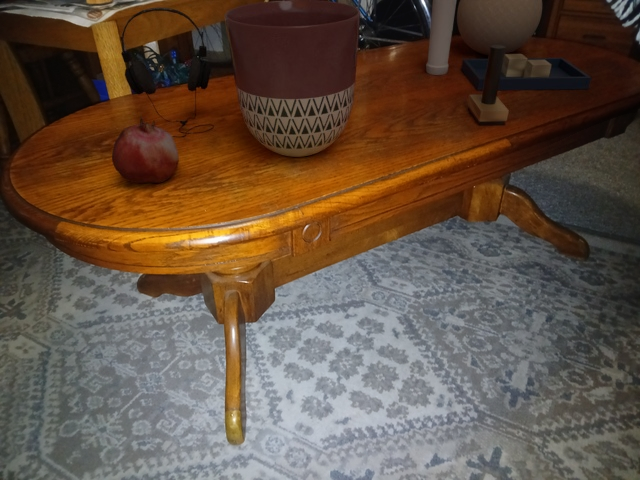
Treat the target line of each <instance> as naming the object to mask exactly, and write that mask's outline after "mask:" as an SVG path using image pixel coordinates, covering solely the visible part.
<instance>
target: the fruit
mask: <svg viewBox="0 0 640 480" xmlns="http://www.w3.org/2000/svg"><path fill="white" fill-rule="evenodd" d="M155 125H156V120H155V119H154V120H153V121H152V124H151V123H149V122H147V121H146V122H144V117H143V116H140V118H139V124H133V125H129V126H127V127H125V128H123V130H121V132H120V133H119V135H118V136H117V138H116V140H115V142H114V144H113V148H112V152H111V153H112V154H111V161H112V165H113V166H114V168H115V170H116V172H117V173H118V174H119V175H120V177H122V178H123V179H124V180H126V181H128V182H130V183H133V184H141V183H142V184H143V183H147V184H148V183H149V184H160V183H164V182H165V181H167V180H168V179H170V177H172V175H173V174H174V173H175V172H176V170H177V169H178V165H179V162H180V157H179V152H178V148H177V145H176V143H175V140H174V137H172V136H173V135H172V134H171V133H170V132H168V130H165V129H163V128H161V127H158V126H155Z"/></svg>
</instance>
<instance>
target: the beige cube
mask: <svg viewBox="0 0 640 480" xmlns="http://www.w3.org/2000/svg"><path fill="white" fill-rule="evenodd" d="M550 70H551V64H550V63H549V62H547V61H546V60H527V62H526V67H525V71H524V76H523V77H549V74H550Z"/></svg>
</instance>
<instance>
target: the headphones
mask: <svg viewBox="0 0 640 480" xmlns="http://www.w3.org/2000/svg"><path fill="white" fill-rule="evenodd" d="M151 12H169V13H174V14H178V15H180V16H182V17H184V18H186V19H187V20H188V21H189V22H190V23H191V24H192V25H193V27H195V29H196V31H197V33H198V34H199V36H200V41H201V45H199V46H198V56H199V57H198V56H195V55H193V56H192V59H191V62H190V66H189V72H188V77H187V90H188V91H190V92H195V93H194V101H195V104H194V107H195V108H194V109H195V113H194V117H193V119H195V118H196V116H197V89H201V90H206V89H207V88H208V87H209V81H210V76H211V69H212V67H211V64H210V63H209V62H205V60H204V58H206V57H207V53H208V52H207V51H208V50H207V48H208V47H207V46H206V45H205V43H204V32H203V31H200V29H199V27H198V25H197V24H196V23H195V22H194V21H193V19H192V18H190V17H189V16H188V15H187V14H185V13H184V12H181V11H179V10H177V9H175V8H170V7H159V6H158V7H150V8H146V9H142V10H140V11H139V12H137V13H135V14H133V15H132V16H131V17H130V18H129V19H128V20H127V22H126V24H125V26H124V27H123V31H122V34H121V36H120V37H119V38H120V41H121V49H122V51H121V53H120V55H121V57H122V60H123V62H124V63H129V67H127V68H126V69H124V77H125V80H126V82H127V84H128V86H129V87H130V89H131V90H132V92H133V93H134V94H136V95H142V94H143V93H145V94H146V95H147V97H148V99H149V101H150V102H151V104H152V106H153V108H154V110H155V112H156V114H157V115H158V116H159V117H161V118H162V119H163V120H164V121H166V122H169V120H168V119H165V118H164V117H163V116H162V115H161V114H160V113H159V112H158V111H157V109H156V106H155V105H154V103H153V101H152V99H151V97H150V96H149V95H154V94H155V93H156V92H157V87H156V83H155V81H154V79H153V76H152V74H151V72H150V71H149V69H148V67H147V66H146V64H145V63H144V62H143V61H142V60H139V59H136V60H135V61H133V57H132V54H131V52H130V50H127V48H126V44H125V41H124V37H125V32H126V29H127V27H128V26H129V24H130V22H131V21H133V20H134V18H136V17H138V16H140V15H143V14H147V13H151ZM200 57H201V58H200ZM132 61H133V63H132ZM190 119H191V117H188V118H187V119H185V120H177V122H179V123H180V124H182V125H181V126H180V127H179V128H178V131H179V132H180V133H181V134H184V135H181V136H179V138H185V137H186V136H187V134H188V135H189V134H190V132H189V131H190V130H193V129H195V128H198V127H203V126H205V124H199V125H196V126H192V127H191V128H189V129H188V130H186V133H187V134H185V132H184V131H181V130H180V129H181V128H182V127H183V126H185V125H186V124H187V123H188V120H190ZM207 126H213V127H211V128H209V129H207V130H204V131H197V132H195V131H194V134H200V133H205V132H209V131H211V130H213V129H214V127H215V125H214V124H207ZM171 136H172V137H173V138H178V136H176V135H171Z"/></svg>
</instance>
